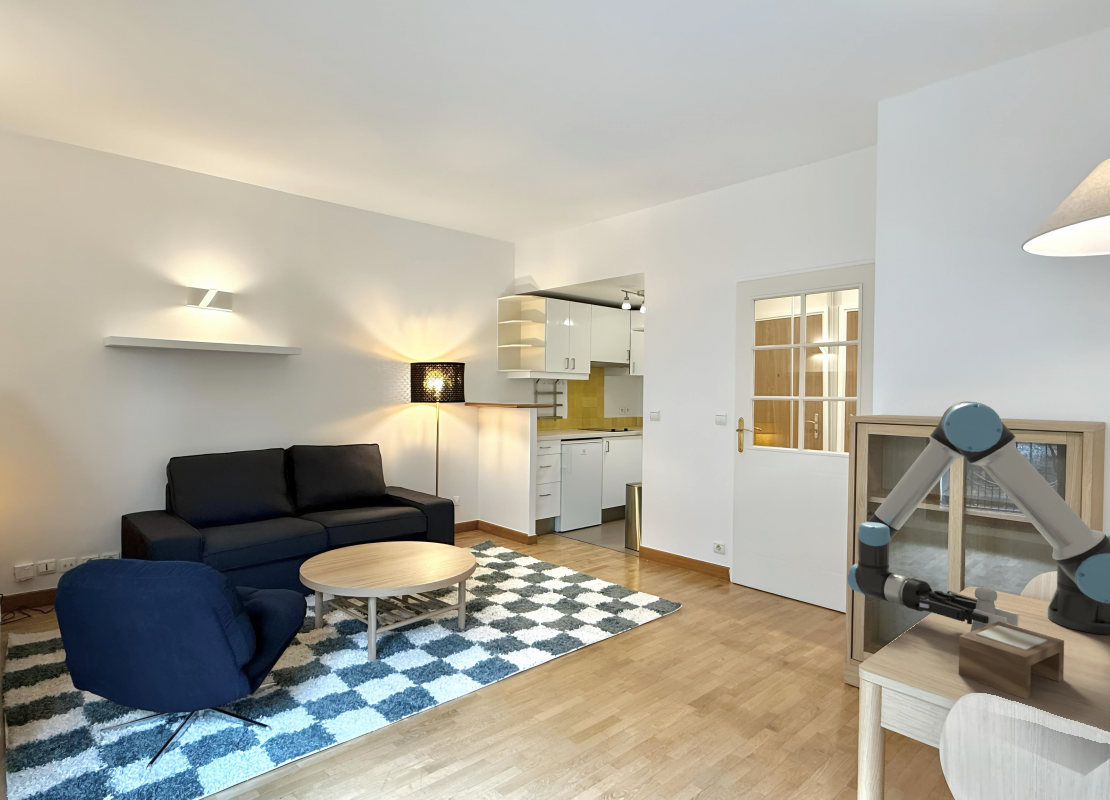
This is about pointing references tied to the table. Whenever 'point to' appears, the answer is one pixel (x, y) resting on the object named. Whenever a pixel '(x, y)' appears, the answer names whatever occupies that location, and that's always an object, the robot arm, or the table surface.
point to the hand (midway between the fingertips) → (1011, 622)
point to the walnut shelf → (1010, 657)
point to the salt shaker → (984, 603)
